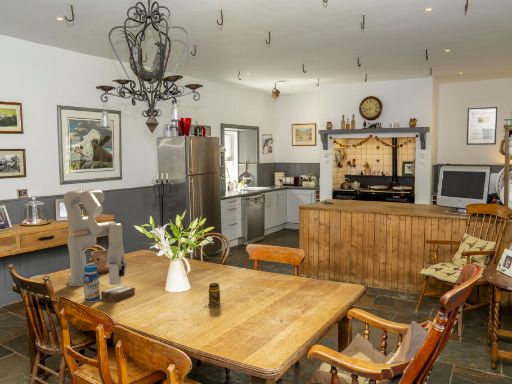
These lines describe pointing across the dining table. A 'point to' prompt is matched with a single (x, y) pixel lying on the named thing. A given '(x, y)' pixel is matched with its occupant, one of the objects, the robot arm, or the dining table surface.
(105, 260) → the ceramic jug
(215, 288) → the condiment
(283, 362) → the dining table surface
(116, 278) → the mug
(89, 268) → the beverage bottle
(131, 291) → the walnut picture frame
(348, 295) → the dining table surface
